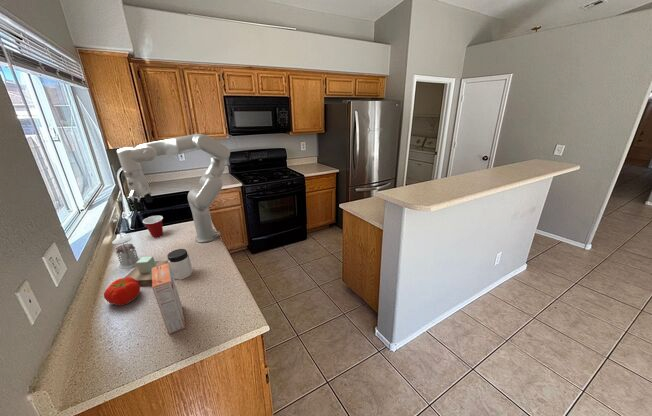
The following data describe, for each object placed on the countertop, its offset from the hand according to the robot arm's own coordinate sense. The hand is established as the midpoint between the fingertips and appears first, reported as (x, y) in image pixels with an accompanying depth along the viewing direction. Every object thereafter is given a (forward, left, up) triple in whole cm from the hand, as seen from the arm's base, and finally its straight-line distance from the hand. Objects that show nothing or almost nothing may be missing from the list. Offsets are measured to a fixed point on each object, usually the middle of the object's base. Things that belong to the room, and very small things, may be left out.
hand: (144, 205), depth 135 cm
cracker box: (-32, +52, -29) cm, 67 cm away
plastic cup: (+13, -23, -29) cm, 40 cm away
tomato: (-5, +38, -29) cm, 48 cm away
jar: (-22, +22, -29) cm, 42 cm away
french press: (+10, +8, -29) cm, 32 cm away
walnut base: (-6, +21, -29) cm, 36 cm away
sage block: (-6, +21, -26) cm, 34 cm away
